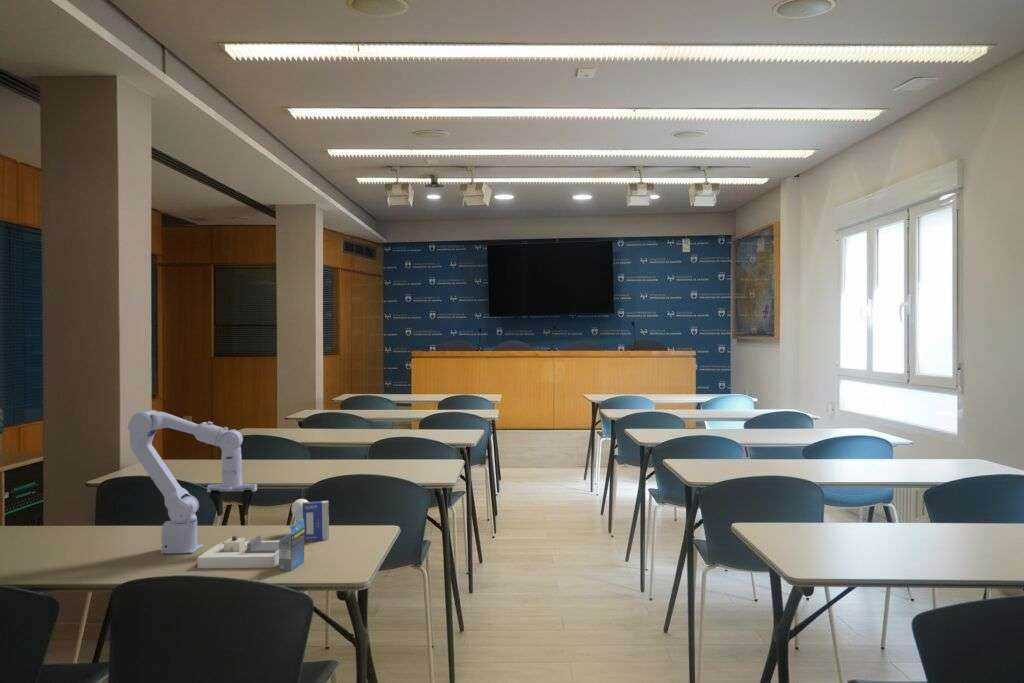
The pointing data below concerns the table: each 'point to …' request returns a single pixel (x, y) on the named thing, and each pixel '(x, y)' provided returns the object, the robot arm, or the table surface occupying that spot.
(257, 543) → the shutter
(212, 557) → the socket board
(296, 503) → the lightbulb
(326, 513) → the walkman
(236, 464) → the robot arm
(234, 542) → the plug
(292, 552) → the label tape box
